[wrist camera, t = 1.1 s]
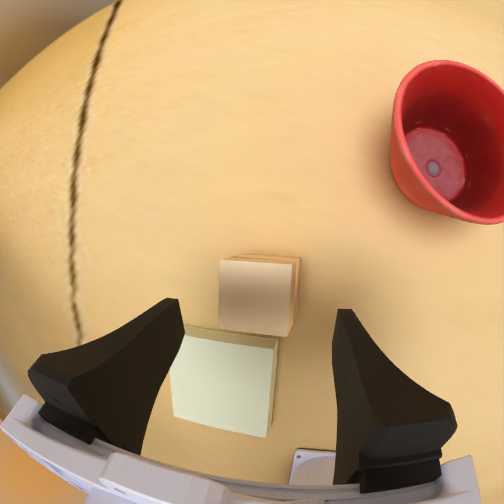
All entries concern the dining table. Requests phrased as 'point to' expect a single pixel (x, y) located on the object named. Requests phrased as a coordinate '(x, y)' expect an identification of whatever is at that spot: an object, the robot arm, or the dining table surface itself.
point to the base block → (225, 380)
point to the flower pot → (450, 141)
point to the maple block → (259, 293)
